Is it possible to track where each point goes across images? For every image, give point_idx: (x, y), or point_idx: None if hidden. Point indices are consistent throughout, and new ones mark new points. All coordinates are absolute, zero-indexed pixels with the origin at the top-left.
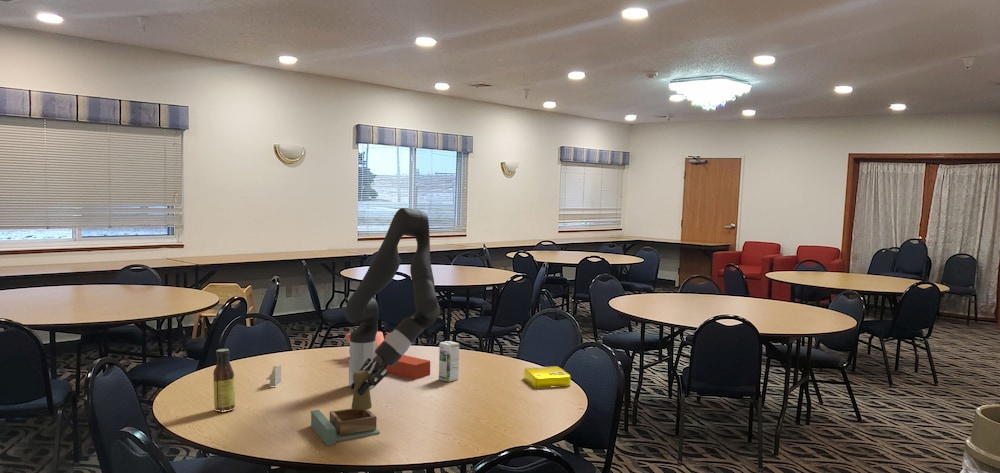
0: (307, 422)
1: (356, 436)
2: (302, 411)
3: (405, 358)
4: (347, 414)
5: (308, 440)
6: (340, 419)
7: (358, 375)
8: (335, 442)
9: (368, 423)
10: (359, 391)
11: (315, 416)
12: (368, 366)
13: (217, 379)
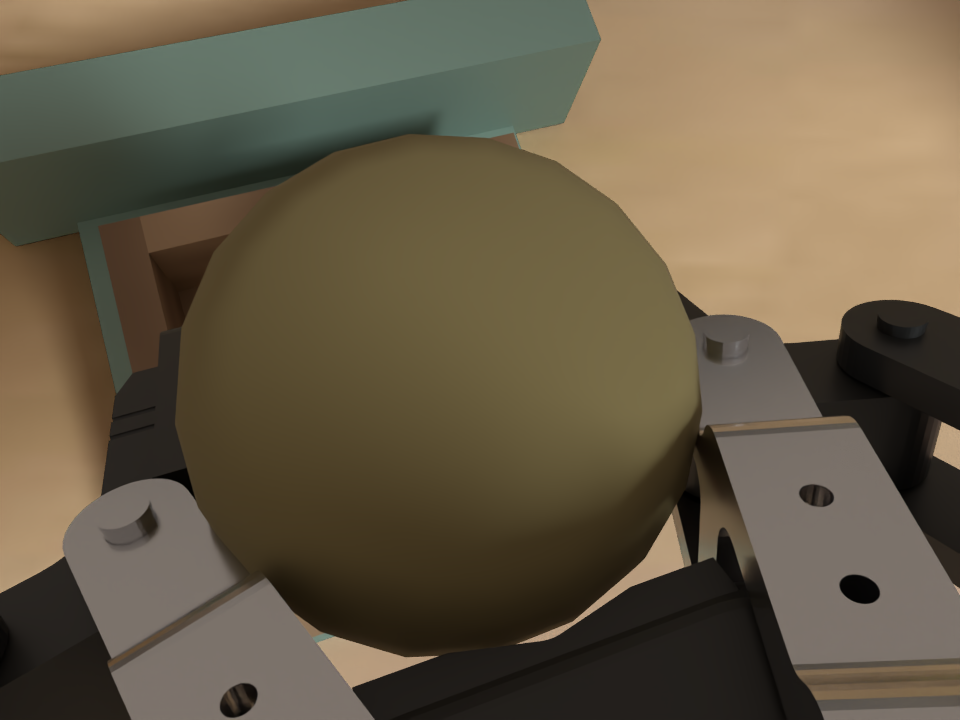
0: (626, 39)
1: None
2: (895, 10)
3: None
4: None
5: (182, 37)
6: (215, 233)
7: (218, 252)
8: (7, 239)
9: None
10: (130, 380)
11: (407, 5)
12: (770, 613)
13: None
